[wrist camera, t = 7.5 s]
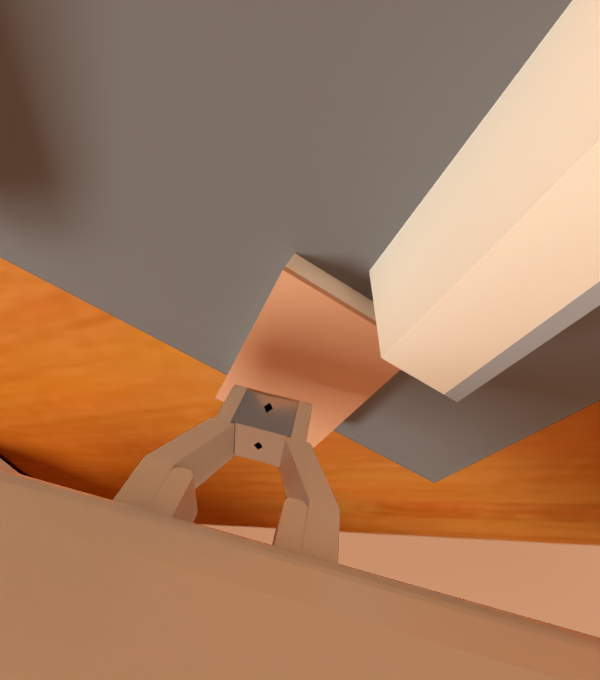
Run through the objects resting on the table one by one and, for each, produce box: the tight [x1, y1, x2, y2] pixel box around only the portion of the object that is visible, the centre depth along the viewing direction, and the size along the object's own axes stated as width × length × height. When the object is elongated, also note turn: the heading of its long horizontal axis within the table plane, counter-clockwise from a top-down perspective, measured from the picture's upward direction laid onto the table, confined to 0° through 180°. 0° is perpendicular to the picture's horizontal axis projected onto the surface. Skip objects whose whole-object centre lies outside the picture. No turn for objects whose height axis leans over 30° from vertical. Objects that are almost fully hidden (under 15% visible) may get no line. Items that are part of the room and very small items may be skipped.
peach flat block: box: [215, 253, 401, 447], centre depth 13 cm, size 8×2×6 cm
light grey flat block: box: [369, 0, 600, 402], centre depth 6 cm, size 8×2×6 cm, turn 151°
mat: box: [0, 0, 600, 483], centre depth 11 cm, size 18×32×1 cm, turn 61°
